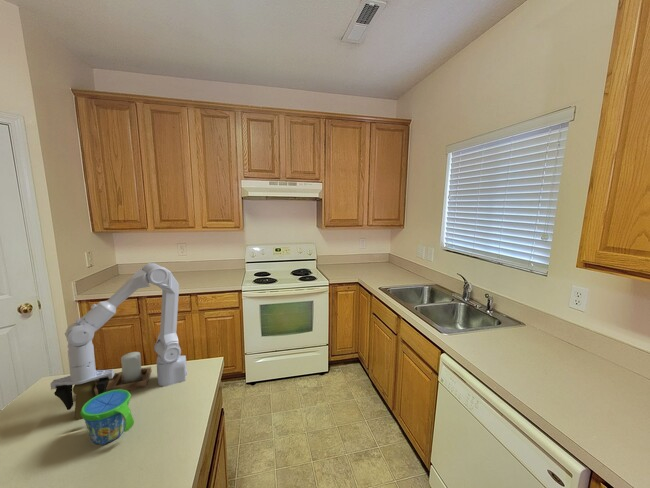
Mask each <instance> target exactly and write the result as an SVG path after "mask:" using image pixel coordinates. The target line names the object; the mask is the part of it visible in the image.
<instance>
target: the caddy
mask: <svg viewBox="0 0 650 488" xmlns="http://www.w3.org/2000/svg"><path fill="white" fill-rule="evenodd" d="M141 371H142V381H138V382H133V383H128V384H123V377H122V371H121V372H114V376H113V378H111V379H110V380H109V382H108V385H107V388H106V391H105V392H108V391H111V390H118V389H122V390H127V391H128V392H129V391H134V390H137V389H142V388H147V385H148V382H149V379H150V377H151V374H152V366H148V367H141ZM95 381H96V384H97V383H98V381H99V380H95ZM94 391H95V394H96V396H97V395H99V394H98V390H97V387H96V386H95V388H94Z"/></svg>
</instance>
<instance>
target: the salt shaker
mask: <svg viewBox="0 0 650 488" xmlns="http://www.w3.org/2000/svg"><path fill="white" fill-rule="evenodd" d="M120 362H121V372H122V377H123V384H128V383H133V382H138V381H142V371H141V368H142V357H141V351H140V352H139V351H131V352H128V353H125V354H123V355H122V356H121V357H120Z"/></svg>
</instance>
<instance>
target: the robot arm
mask: <svg viewBox="0 0 650 488" xmlns="http://www.w3.org/2000/svg"><path fill="white" fill-rule="evenodd" d="M150 284H152V285H154V286H157V287H158V288H160V290H162V293H161V307H160V308H161V311H160V312H161V313H160V325H159V327H160V329H159V333H158V335H157V340H156V342H155V344H154V347H153V348H154V352H155V353H156V354H157V358H156V372H157V373H156V374H157V385H158V386H160V387H167V386H171V385H172V386H173V385H174V384H178V383H182V382H186V380H187V376H188V369H187V357H186V356H187V355H181V354H182V349H181V346H180V344H179V343H180V341H179V337H178V334H177V329H178V328H177V327H178V310H179V295H180V284H179V282H178V281H177V279H176V278H175V277H174V275H173V273H172V271H171V270H169V269H168V268H166V267H164V266H161V265H159V264H158V263H155V262H149V263H146V264H145V265H143V266H142V268H140V269H139V270H137V271H136V272H134V274H133V275H132V276H131V277H130V278H129V279H128V280H127V281H126V282H125V283H123V284H122V286H121V287H119V288H118V290H116V291H115V292H114V294H113V295H111V296H110V297H109V298H108V299H107V300H103V301H99V302H98V303H97V304H96V303H93V304H92V305H91V306H90V308H91V309H90V310H88V311H87V312H86V313H85V314H84V315H83V316H82V317H78V318H77V319H76V320H75V322H73V323H71V324H70V325H69V326H68V327H67V328H66V331H65V333H64V335H65V338H66V340H67V341H66V342H67V343H68V344H67V349H68V350H67V357H68V367H69V368H68V369H69V375H67V376H64V377H61V378H56V379H53V380H52V381H51V382H50V390H51V391H53V390H55V391H54V393H53V394H54V396H56V397H57V398H58V399H59V400H61V401H62V403H63V405H64V407H66V410H67V411H70V410H71V409H72V407H73V406H74V397H73V386H74V385H77V384H82V383H86V382H89V381H94V380H99V381H98V383H97V384H96V387H97V390H98V394H102V393H104V392H105V391H106V388H107V385H108V382H109V380H110V379H111V378H113V376H114V373H115V369H114V368H112V369H96V359H95V347H94V343H93V340H94V336H95V332H97V331H99V330H100V329H101V328H102V327H103V326H104V325H105V324H106V323H107V322H108V321H109V320H110V319H111V318H113V316H115V315H116V314H117V308H118V307H119V306H120V305H121V304H122V303H124V301H126V300H127V299H128V298H129V297H131V296H132V295H133V294H134V293H135V292H137V290H139V289H143V288H144V289H145V288H149V287H151V285H150Z"/></svg>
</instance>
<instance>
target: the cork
mask: <svg viewBox="0 0 650 488" xmlns="http://www.w3.org/2000/svg"><path fill="white" fill-rule="evenodd" d="M95 386H96V381H95V380H94V381H89V382H86V383H82V384H77V385H73V386H72V393H73V394H74V396H75V403H74V404H75V406H74V415H73V416H74V419H75V420H84V419H83V417H82V416H81V413H80V412H81V410H82V407H83V406H84V404H85V403H86V402H88V401H89V400H90V399H92V398H94V397H95V396H96V394H95V391H94V388H95Z"/></svg>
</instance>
